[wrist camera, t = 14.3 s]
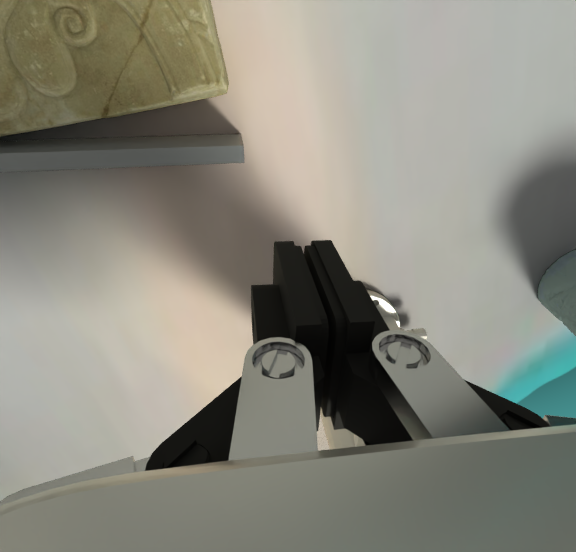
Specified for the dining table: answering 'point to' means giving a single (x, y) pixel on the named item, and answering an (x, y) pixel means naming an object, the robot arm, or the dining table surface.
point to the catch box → (119, 152)
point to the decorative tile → (103, 59)
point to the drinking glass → (561, 290)
